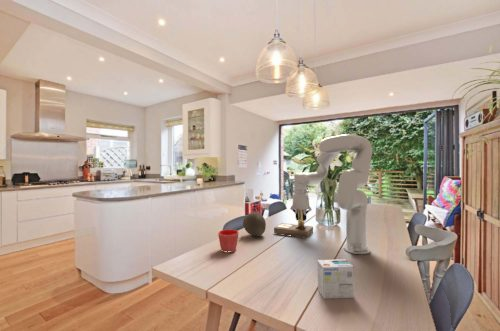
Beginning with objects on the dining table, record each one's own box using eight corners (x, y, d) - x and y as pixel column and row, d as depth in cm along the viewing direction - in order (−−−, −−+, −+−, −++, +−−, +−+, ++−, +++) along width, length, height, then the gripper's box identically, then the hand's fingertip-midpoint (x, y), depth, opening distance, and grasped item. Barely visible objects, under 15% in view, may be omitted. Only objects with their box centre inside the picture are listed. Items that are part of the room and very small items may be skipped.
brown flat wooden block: (307, 238, 142) (307, 231, 142) (274, 233, 153) (273, 227, 153) (313, 232, 155) (312, 226, 155) (281, 228, 165) (281, 222, 165)
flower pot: (241, 252, 122) (241, 233, 122) (221, 255, 118) (221, 236, 118) (235, 245, 132) (235, 228, 132) (216, 248, 128) (216, 230, 128)
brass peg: (305, 229, 152) (304, 207, 152) (303, 230, 148) (302, 208, 148) (299, 228, 154) (298, 207, 154) (297, 230, 150) (296, 208, 150)
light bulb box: (346, 287, 85) (345, 258, 85) (354, 298, 78) (354, 266, 78) (316, 288, 84) (316, 259, 85) (323, 299, 78) (322, 267, 78)
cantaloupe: (256, 231, 159) (255, 209, 159) (270, 236, 148) (270, 212, 148) (239, 236, 150) (239, 212, 150) (253, 241, 139) (253, 216, 139)
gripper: (314, 191, 151) (315, 220, 151) (290, 191, 159) (290, 217, 159) (311, 193, 144) (312, 222, 144) (286, 192, 152) (286, 220, 152)
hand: (301, 219), depth 151 cm, fingers closed on brass peg, 4 cm apart
